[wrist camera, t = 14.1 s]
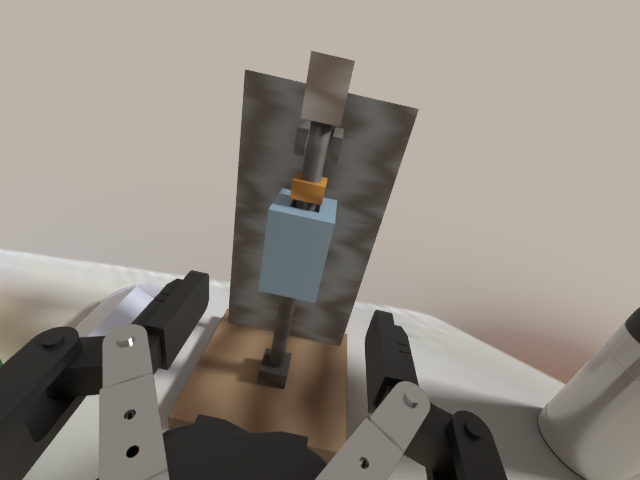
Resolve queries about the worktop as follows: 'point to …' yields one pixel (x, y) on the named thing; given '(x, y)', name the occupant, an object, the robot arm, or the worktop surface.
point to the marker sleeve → (296, 247)
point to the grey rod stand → (340, 267)
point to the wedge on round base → (117, 310)
